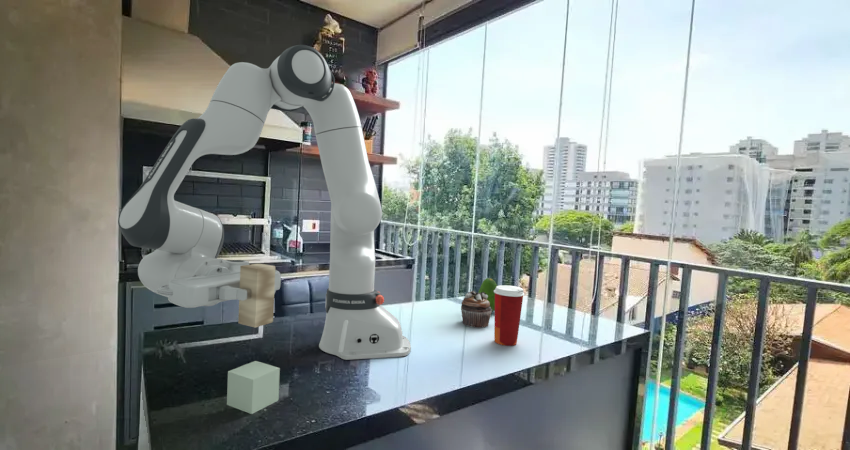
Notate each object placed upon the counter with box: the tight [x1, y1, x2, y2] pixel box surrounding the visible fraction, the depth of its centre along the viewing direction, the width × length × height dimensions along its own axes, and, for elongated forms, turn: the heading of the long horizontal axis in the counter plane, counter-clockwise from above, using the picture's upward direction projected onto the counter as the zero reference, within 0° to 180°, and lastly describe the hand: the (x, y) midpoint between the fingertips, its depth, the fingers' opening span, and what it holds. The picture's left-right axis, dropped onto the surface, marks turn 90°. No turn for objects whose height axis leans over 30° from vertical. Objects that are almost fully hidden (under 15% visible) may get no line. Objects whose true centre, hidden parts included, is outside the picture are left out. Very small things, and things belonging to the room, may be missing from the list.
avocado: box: [477, 277, 498, 312], centre depth 150 cm, size 8×8×12 cm
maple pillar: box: [237, 263, 276, 329], centre depth 76 cm, size 4×4×10 cm
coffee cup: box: [493, 284, 525, 347], centre depth 119 cm, size 8×8×15 cm
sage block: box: [226, 360, 281, 415], centre depth 77 cm, size 6×6×6 cm
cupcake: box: [460, 290, 493, 329], centre depth 135 cm, size 10×10×10 cm
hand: (260, 292), depth 76 cm, fingers closed on maple pillar, 4 cm apart
